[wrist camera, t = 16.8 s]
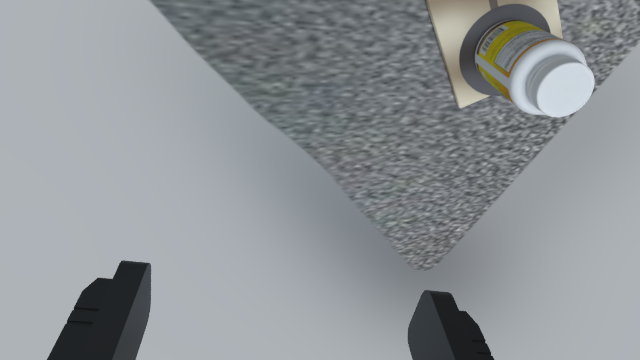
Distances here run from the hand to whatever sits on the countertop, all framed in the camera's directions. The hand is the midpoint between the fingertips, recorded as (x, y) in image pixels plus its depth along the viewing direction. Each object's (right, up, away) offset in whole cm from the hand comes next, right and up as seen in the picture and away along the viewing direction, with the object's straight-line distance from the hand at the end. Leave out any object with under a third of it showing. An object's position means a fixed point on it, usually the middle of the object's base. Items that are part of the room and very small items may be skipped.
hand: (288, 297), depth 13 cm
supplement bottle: (+17, +15, +27) cm, 35 cm away
